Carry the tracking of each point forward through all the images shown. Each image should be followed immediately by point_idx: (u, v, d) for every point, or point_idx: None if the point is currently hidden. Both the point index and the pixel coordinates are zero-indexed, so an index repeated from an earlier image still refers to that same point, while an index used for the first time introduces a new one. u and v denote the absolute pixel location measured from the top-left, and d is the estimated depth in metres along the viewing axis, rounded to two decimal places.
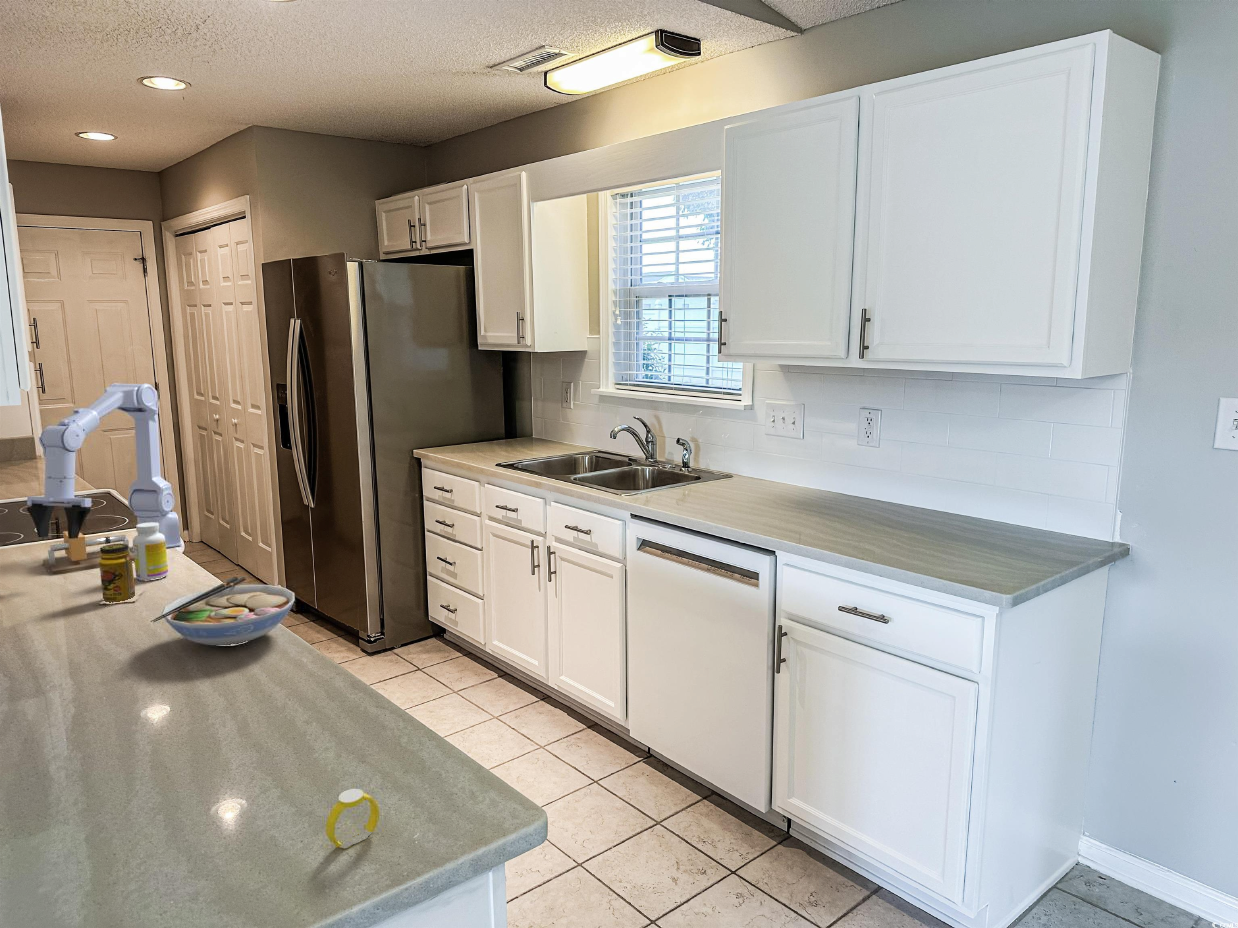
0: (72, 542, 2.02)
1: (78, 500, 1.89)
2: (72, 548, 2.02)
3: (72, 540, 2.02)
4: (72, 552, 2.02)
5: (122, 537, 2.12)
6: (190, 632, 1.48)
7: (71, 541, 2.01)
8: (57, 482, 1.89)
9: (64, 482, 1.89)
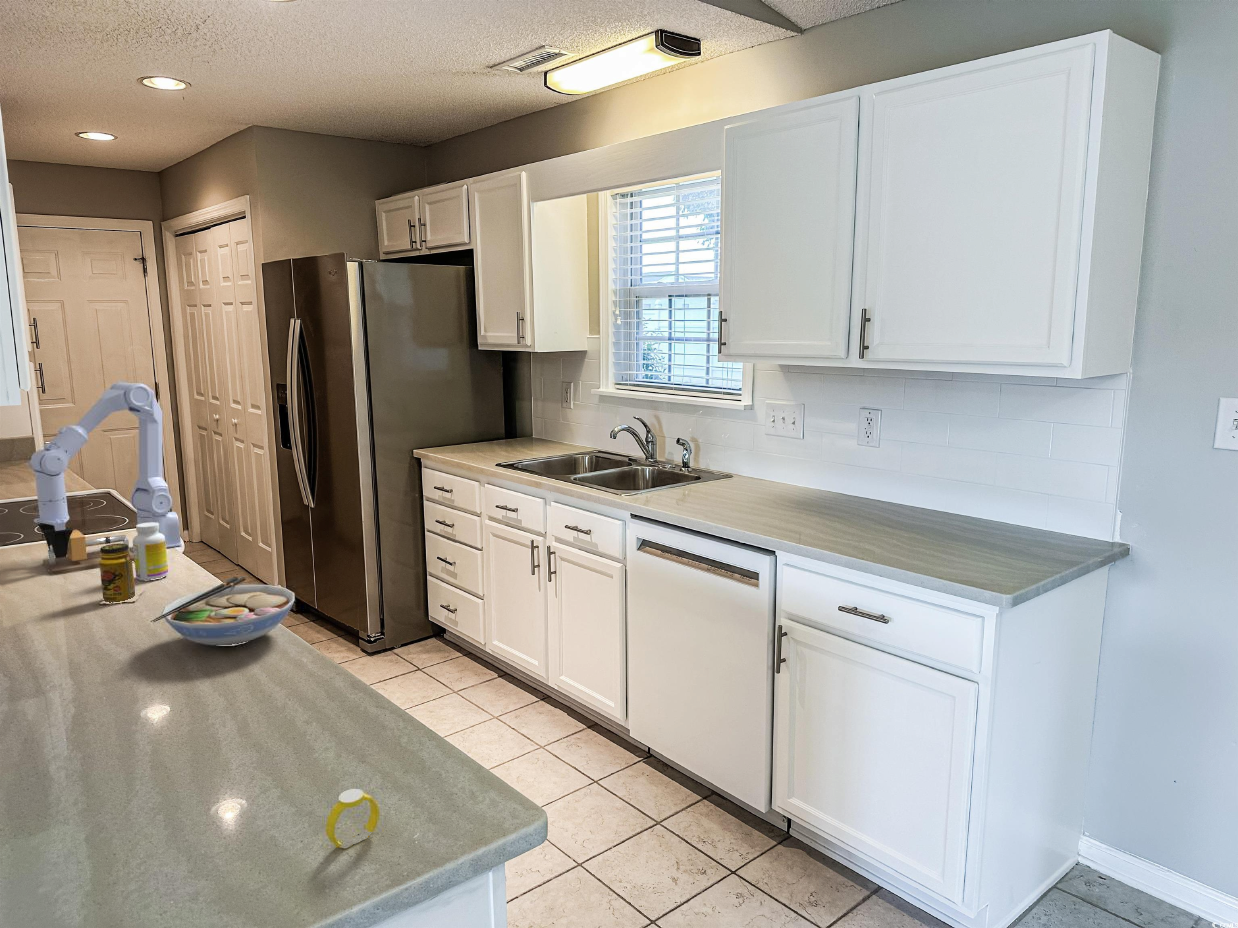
0: (72, 542, 2.02)
1: (53, 524, 1.97)
2: (72, 548, 2.02)
3: (72, 540, 2.02)
4: (72, 552, 2.02)
5: (122, 537, 2.12)
6: (190, 632, 1.48)
7: (71, 541, 2.01)
8: (41, 505, 1.99)
9: (47, 505, 1.99)
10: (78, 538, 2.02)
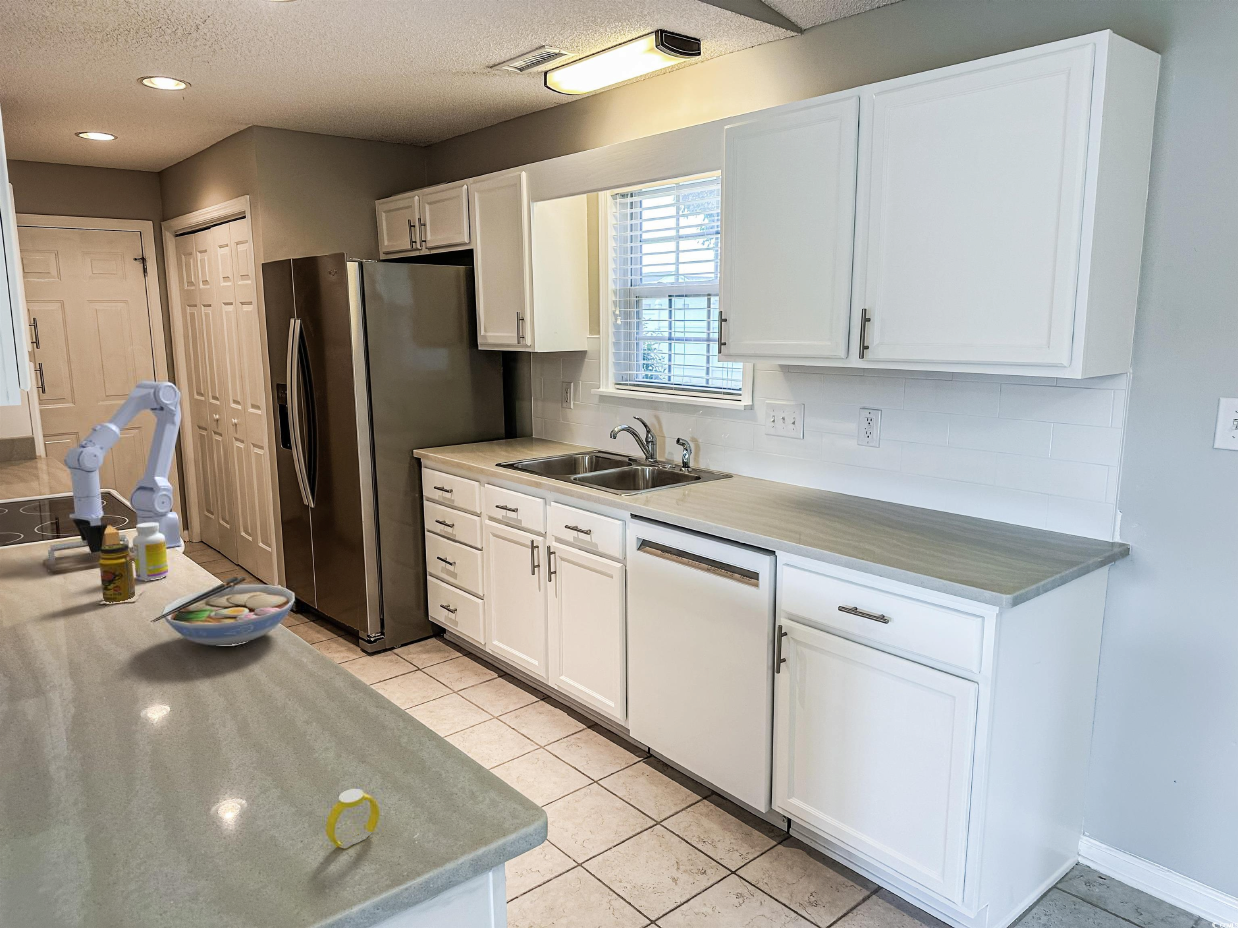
0: (107, 537, 2.06)
1: (88, 519, 2.02)
2: (107, 543, 2.07)
3: (107, 535, 2.06)
4: None
5: (122, 537, 2.12)
6: (190, 632, 1.48)
7: (106, 536, 2.06)
8: (77, 501, 2.04)
9: (82, 501, 2.04)
10: (112, 533, 2.07)
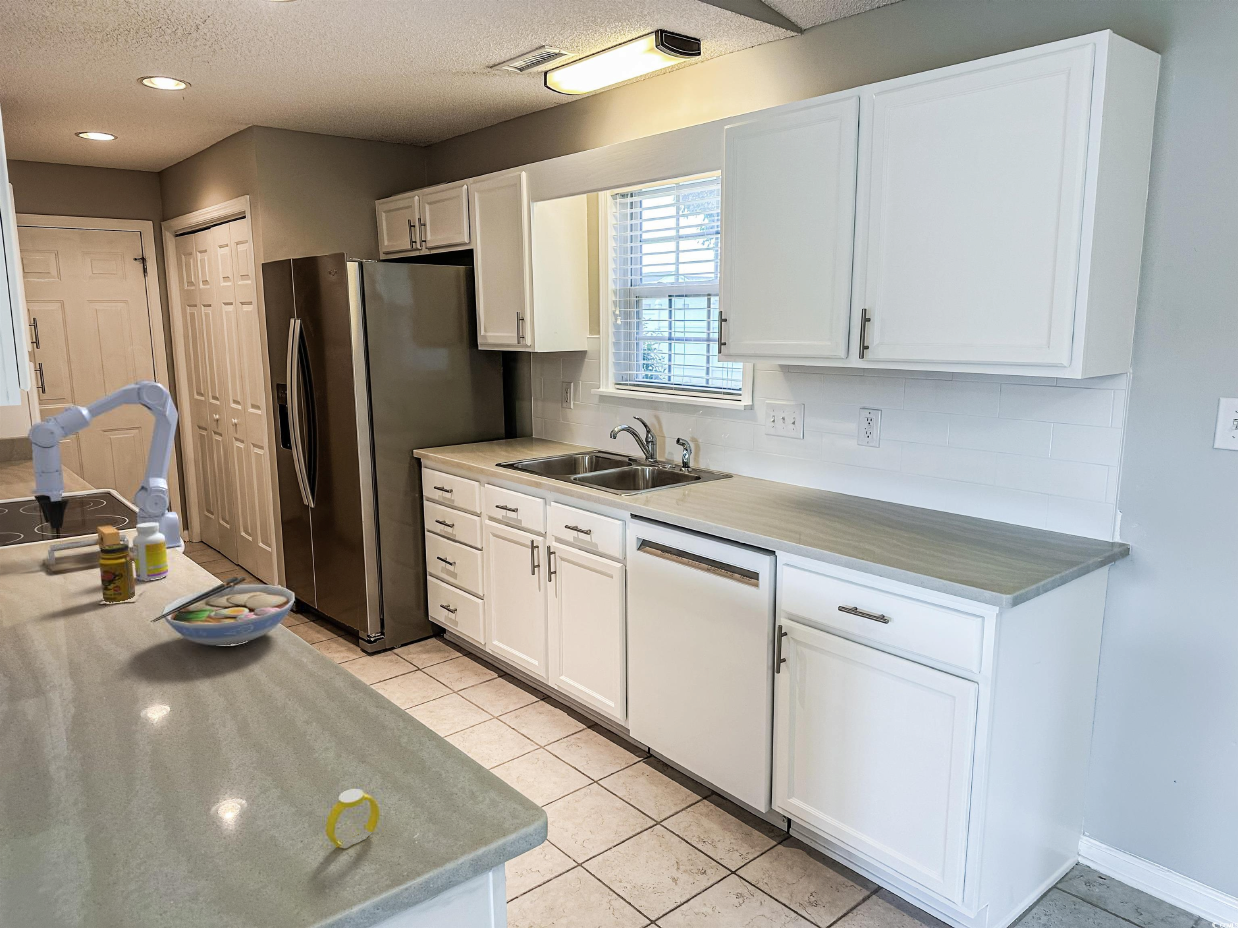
0: (107, 537, 2.07)
1: (49, 494, 2.01)
2: (107, 543, 2.07)
3: (107, 535, 2.06)
4: None
5: (122, 537, 2.12)
6: (190, 632, 1.48)
7: (106, 536, 2.06)
8: (38, 476, 2.03)
9: (43, 476, 2.03)
10: (113, 533, 2.07)
